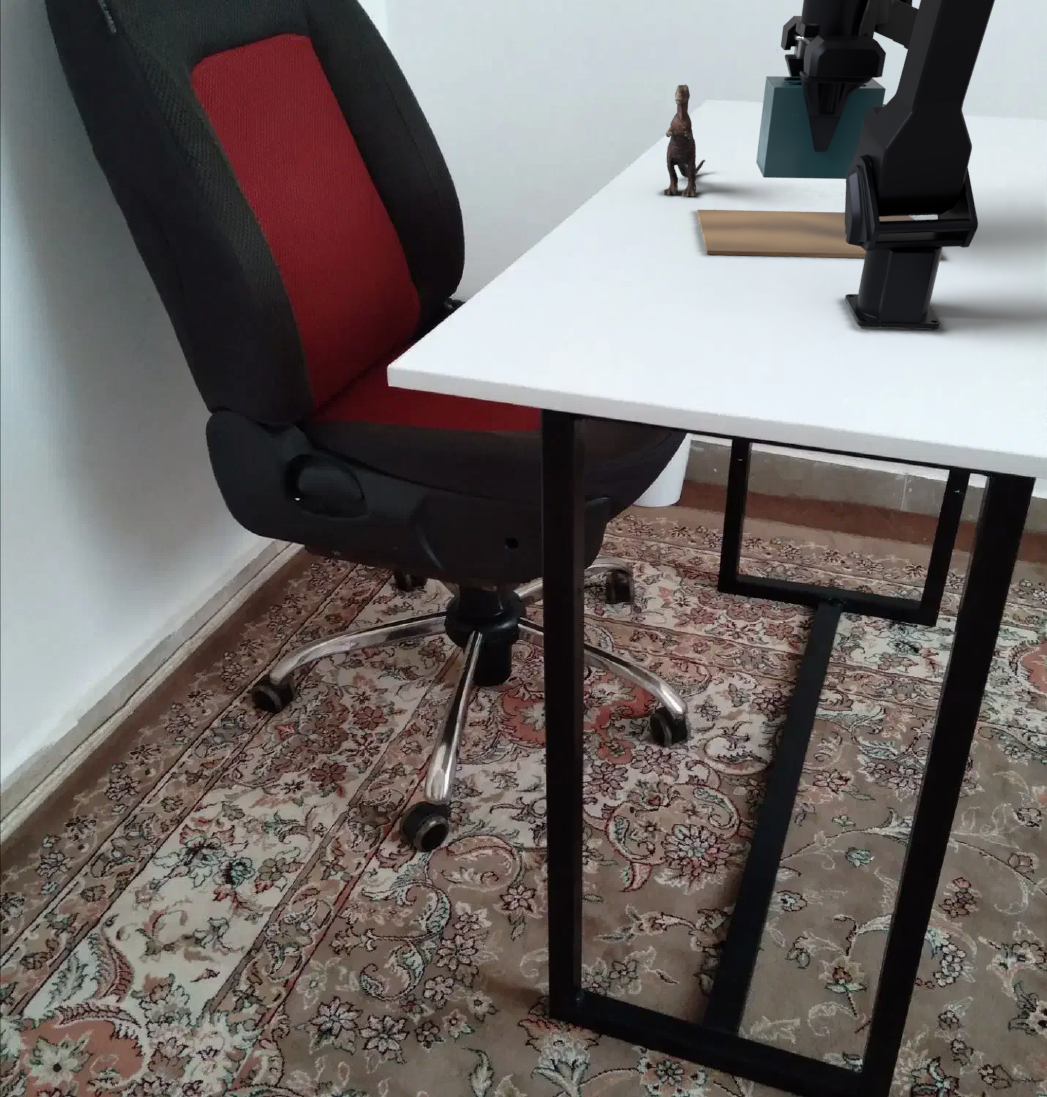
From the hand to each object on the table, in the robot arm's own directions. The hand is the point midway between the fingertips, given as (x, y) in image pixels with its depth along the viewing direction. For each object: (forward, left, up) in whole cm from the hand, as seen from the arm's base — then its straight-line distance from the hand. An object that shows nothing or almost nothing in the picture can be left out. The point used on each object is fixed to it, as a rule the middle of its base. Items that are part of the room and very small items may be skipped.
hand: (815, 143), depth 99 cm
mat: (0, -1, -9) cm, 9 cm away
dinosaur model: (+18, +11, -9) cm, 23 cm away
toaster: (0, 0, -3) cm, 2 cm away
